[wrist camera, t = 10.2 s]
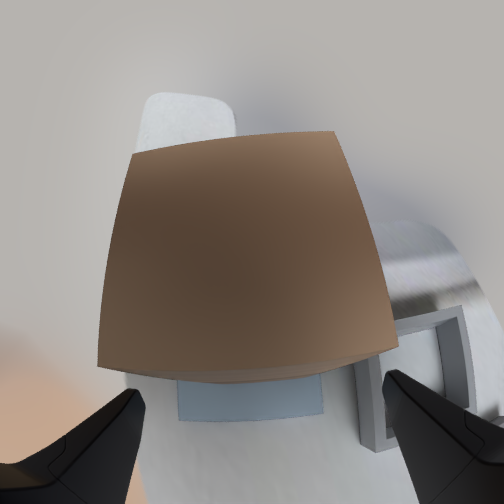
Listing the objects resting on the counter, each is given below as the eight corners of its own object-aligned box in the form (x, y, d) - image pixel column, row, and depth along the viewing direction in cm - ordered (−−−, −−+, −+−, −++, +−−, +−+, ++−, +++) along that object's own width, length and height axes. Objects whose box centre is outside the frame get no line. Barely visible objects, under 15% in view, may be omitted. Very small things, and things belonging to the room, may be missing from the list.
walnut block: (304, 377, 16) (398, 346, 4) (223, 384, 16) (97, 366, 4) (296, 302, 18) (333, 131, 6) (220, 308, 18) (132, 153, 6)
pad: (320, 411, 15) (323, 413, 15) (183, 419, 16) (178, 420, 15) (304, 271, 20) (305, 266, 19) (182, 282, 20) (178, 276, 19)
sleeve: (453, 412, 14) (476, 412, 11) (360, 444, 14) (375, 453, 11) (440, 316, 17) (461, 304, 15) (349, 335, 18) (362, 325, 15)
